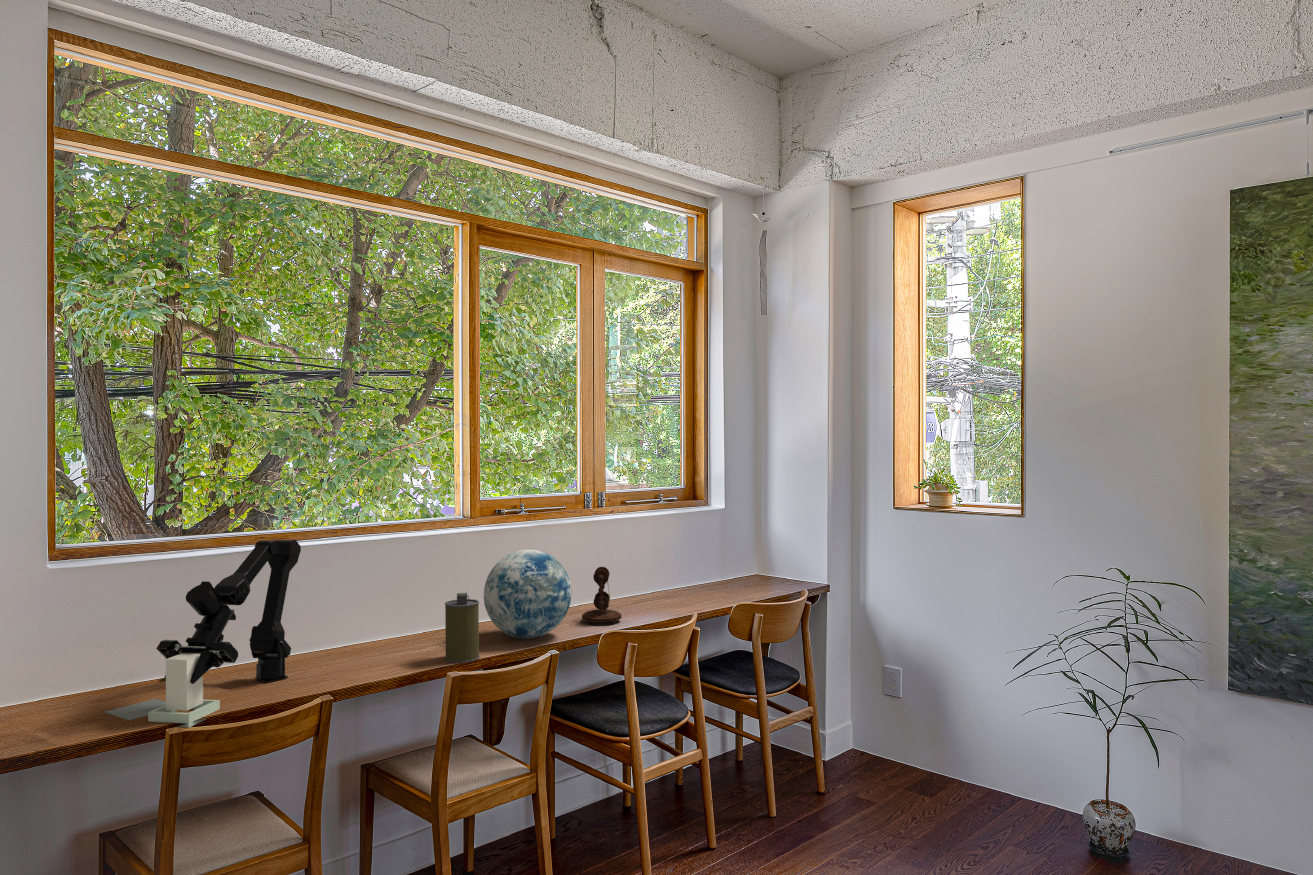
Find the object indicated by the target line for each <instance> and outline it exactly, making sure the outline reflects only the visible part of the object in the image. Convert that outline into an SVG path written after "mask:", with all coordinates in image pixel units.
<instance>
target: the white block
mask: <svg viewBox="0 0 1313 875" xmlns="http://www.w3.org/2000/svg"><path fill="white" fill-rule="evenodd" d="M199 656H200V654H190V653H182V654H179V655H176V656H173V657H171V658H168V659H166V658H165V672H166V673H165V675H166V681H165V702H166V710H176V711H189V710H192V709H191V708H194V707H196V706H198V705H200V704H202V703H203V699H204V684H203V683H204V675H203V676H202V677H200V678H199V679H198V680H197V681H196V682H195V683H194V684H191V683H190V680H191V677H192V674H193V671H194V669H195V666H196V664H197V661H198V659H199Z"/></svg>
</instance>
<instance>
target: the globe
mask: <svg viewBox="0 0 1313 875" xmlns="http://www.w3.org/2000/svg"><path fill="white" fill-rule="evenodd" d="M572 594H573V593H572V584H571V579H570V577H569V575H568V573H567V570H566V568H565V567H564V566H563V565H562V563H560V561H559V560H557V559H556V558H555V557H554V556H552V555H551V554H549V553H546V552H544V551H541V550H537V549H519V550H517V551H513V552H511V553H509V554H507V555H505V556H504V557H502V558H501V559H500V560H499V561H497V562H496V563H495V565H494V566H493V567H492V568H491V570H490V571H489V572H488V576H487V577H486V580H485V583H484V588H483V604H484V608H485V611H486V613H487V616H488V617H489V619H490V620H491V622H492V623H493V624H494V625H495V627H496V628H498V629H499V630H500V631H501V632H503V633H505V634H506V635H508V636H511V637H513V638H517V639H528V640H529V639H535V638H539V637H543V636H545V635H547V634H549V633H550V632H552V631H553V630H555V629H556V628H557V627H558V626H559V625H560V623H562V621H563V620H564V618H566V615H567V613H568V611H569V609H570V606H571V603H572V601H571V600H572Z"/></svg>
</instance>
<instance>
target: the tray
mask: <svg viewBox="0 0 1313 875" xmlns="http://www.w3.org/2000/svg"><path fill="white" fill-rule="evenodd" d="M220 701H221V700H220V699H204V698H203V703H202V704H200V705H198V706H196V707H194V708H191V709H190V710H191V711H190V712H177V710H166V705H164V706H162V707H160V708H157V709H155V710H153V711H150V712H148V716H147V719H148V720H147V721H148V722H153V723H154V722H155V723H168V724H169V723H173V724H174V723H175V724H181V725H176V728H187V729H188V728H189V729H190V728H191V727H193V726H195V725H197V724H199V723H202V722H203V721H205V720H207V719H206V718H207V717H205V716H209V714H212V713H214V712H216V711H218V710H220V709H221V708H220V707H221V705H220V704H221V703H220ZM203 717H205V718H203Z"/></svg>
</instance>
